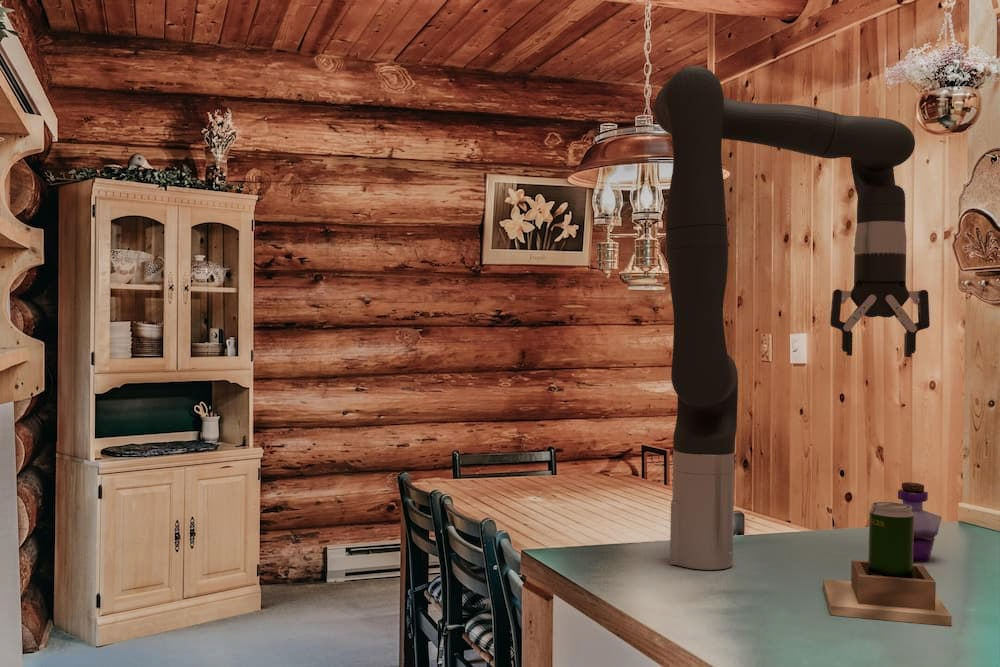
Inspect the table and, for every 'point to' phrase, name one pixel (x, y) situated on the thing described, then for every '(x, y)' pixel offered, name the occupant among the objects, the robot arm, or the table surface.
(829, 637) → the table surface
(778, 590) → the table surface
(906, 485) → the potion bottle
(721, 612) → the table surface
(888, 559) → the beer can
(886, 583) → the can caddy
